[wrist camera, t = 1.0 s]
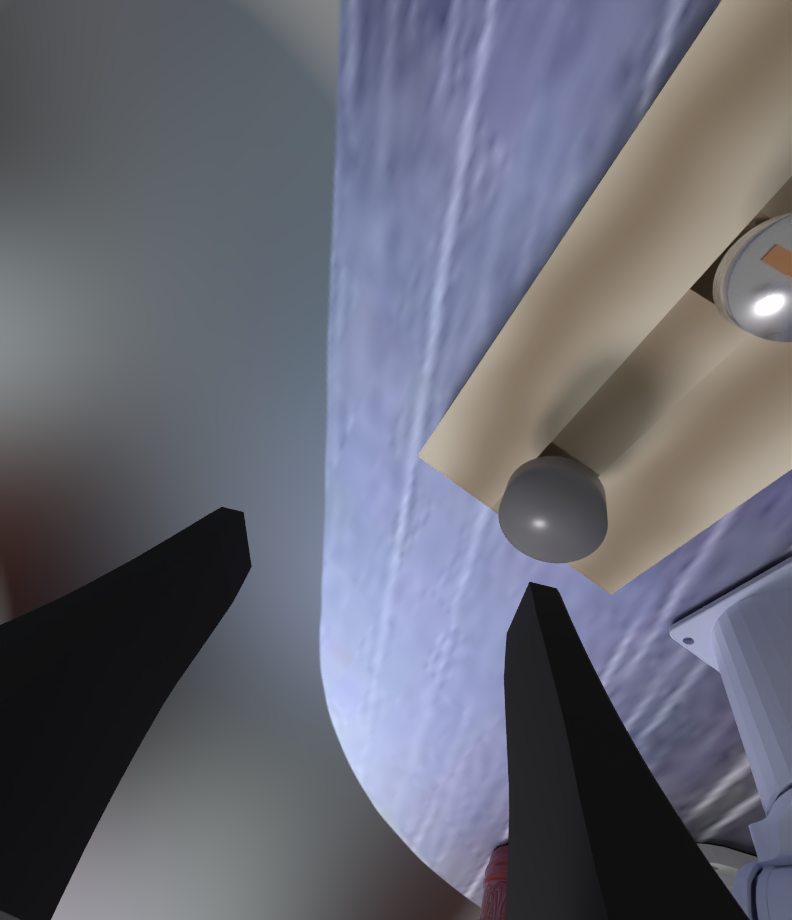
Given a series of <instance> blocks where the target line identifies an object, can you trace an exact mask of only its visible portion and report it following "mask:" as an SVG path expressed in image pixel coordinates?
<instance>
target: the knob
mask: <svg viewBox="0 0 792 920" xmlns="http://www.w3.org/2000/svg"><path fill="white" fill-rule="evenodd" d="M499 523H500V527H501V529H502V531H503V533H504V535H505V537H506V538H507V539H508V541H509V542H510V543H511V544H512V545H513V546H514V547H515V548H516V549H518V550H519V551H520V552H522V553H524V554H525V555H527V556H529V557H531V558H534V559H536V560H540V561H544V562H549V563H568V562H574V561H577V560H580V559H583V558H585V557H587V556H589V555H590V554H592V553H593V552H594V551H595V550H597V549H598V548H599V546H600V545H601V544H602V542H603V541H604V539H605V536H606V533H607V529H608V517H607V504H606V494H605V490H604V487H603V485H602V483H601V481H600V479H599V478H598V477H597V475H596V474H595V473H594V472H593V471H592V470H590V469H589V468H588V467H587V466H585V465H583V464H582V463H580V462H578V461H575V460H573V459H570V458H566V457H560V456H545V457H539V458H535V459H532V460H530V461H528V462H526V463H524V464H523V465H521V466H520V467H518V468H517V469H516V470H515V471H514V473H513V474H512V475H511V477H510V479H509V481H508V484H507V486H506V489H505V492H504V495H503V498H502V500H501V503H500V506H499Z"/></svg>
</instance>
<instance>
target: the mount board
mask: <svg viewBox="0 0 792 920" xmlns="http://www.w3.org/2000/svg"><path fill="white" fill-rule="evenodd" d="M791 212H792V0H722V1H721V2H720V4H719V5H718V7H717V8H716V10H715V11H714V13H713V14H712V16H711V17H710V19H709V20H708V22H707V23H706V25H705V26H704V28H703V29H702V31H701V32H700V34H699V35H698V37H697V38H696V40H695V41H694V43H693V44H692V46H691V47H690V49H689V50H688V52H687V53H686V55H685V56H684V58H683V59H682V61H681V62H680V64H679V65H678V67H677V68H676V70H675V71H674V73H673V74H672V76H671V77H670V79H669V80H668V82H667V83H666V85H665V86H664V88H663V89H662V91H661V92H660V94H659V95H658V97H657V98H656V100H655V101H654V103H653V104H652V106H651V107H650V109H649V110H648V112H647V113H646V115H645V116H644V118H643V119H642V121H641V122H640V124H639V125H638V127H637V128H636V130H635V131H634V133H633V134H632V135H631V137H630V138H629V140H628V141H627V143H626V144H625V146H624V147H623V149H622V150H621V152H620V153H619V155H618V156H617V158H616V159H615V161H614V162H613V164H612V165H611V167H610V168H609V170H608V171H607V173H606V174H605V176H604V177H603V179H602V180H601V182H600V183H599V185H598V186H597V188H596V189H595V191H594V192H593V194H592V195H591V197H590V198H589V200H588V201H587V203H586V204H585V206H584V207H583V209H582V210H581V212H580V213H579V215H578V216H577V218H576V219H575V221H574V222H573V224H572V225H571V227H570V228H569V230H568V231H567V233H566V234H565V236H564V237H563V239H562V240H561V242H560V243H559V245H558V246H557V248H556V249H555V251H554V252H553V254H552V255H551V257H550V258H549V260H548V261H547V263H546V264H545V266H544V267H543V269H542V270H541V272H540V273H539V275H538V276H537V278H536V279H535V281H534V282H533V284H532V285H531V287H530V288H529V290H528V291H527V293H526V294H525V296H524V297H523V299H522V300H521V302H520V303H519V305H518V306H517V308H516V309H515V311H514V312H513V314H512V315H511V317H510V318H509V320H508V321H507V323H506V324H505V326H504V327H503V329H502V330H501V332H500V333H499V335H498V336H497V338H496V339H495V341H494V342H493V344H492V345H491V347H490V348H489V350H488V351H487V353H486V354H485V356H484V357H483V359H482V360H481V362H480V363H479V365H478V366H477V368H476V369H475V371H474V372H473V374H472V375H471V377H470V378H469V380H468V381H467V383H466V384H465V386H464V387H463V389H462V390H461V392H460V393H459V395H458V396H457V398H456V399H455V401H454V402H453V404H452V405H451V407H450V408H449V410H448V411H447V413H446V414H445V416H444V417H443V419H442V420H441V422H440V423H439V425H438V426H437V428H436V429H435V431H434V432H433V434H432V435H431V437H430V438H429V440H428V441H427V443H426V444H425V446H424V447H423V449H422V450H421V452H420V453H419V455H418V457H419V458H421V459H422V460H424V461H425V462H426V463H428V464H429V465H431V466H432V467H433V468H435V469H436V470H438V471H439V472H440V473H442V474H443V475H445V476H446V477H447V478H449V479H450V480H451V481H453V482H454V483H456V484H457V485H458V486H460V487H461V488H463V489H464V490H465V491H467V492H468V493H470V494H471V495H472V496H474V497H475V498H477V499H478V500H479V501H481V502H482V503H484V504H485V505H486V506H488V507H489V508H491V509H492V510H493V511H495V512H496V513H497V514H499V506H500V503H501V500H502V498H503V495H504V492H505V489H506V486H507V484H508V481H509V479H510V477H511V475H512V474H513V473H514V471H515V470H516V469H517V468H518V467H520V466H521V465H523V464H524V463H526V462H528V461H530V460H532V459H535V458H539V457H545V456H560V457H566V458H570V459H573V460H575V461H578V462H580V463H582V464H583V465H585V466H587V467H588V468H589V469H590V470H592V471H593V472H594V473H595V474H596V475H597V477H598V478H599V479H600V481H601V483H602V485H603V487H604V490H605V494H606V504H607V517H608V529H607V533H606V536H605V539H604V541H603V542H602V544H601V545H600V546H599V548H598V549H597V550H595V551H594V552H593V553H592V554H590V555H589V556H587V557H585V558H583V559H580V560H577V561H574V562H568V563H567V564H569V565H570V566H571V567H573V568H574V569H576V570H577V571H578V572H580V573H581V574H583V575H584V576H585V577H587V578H588V579H590V580H591V581H592V582H594V583H595V584H597V585H598V586H599V587H601V588H602V589H603V590H605V591H606V592H608V593H609V594H610V595H611V594H613V593H614V592H616V591H617V590H619V589H620V588H621V587H623V586H624V585H626V584H627V583H629V582H630V581H631V580H633V579H634V578H636V577H637V576H639V575H640V574H642V573H643V572H644V571H646V570H647V569H649V568H650V567H652V566H653V565H654V564H656V563H657V562H659V561H660V560H662V559H663V558H665V557H666V556H667V555H669V554H670V553H672V552H673V551H675V550H676V549H677V548H679V547H680V546H682V545H683V544H685V543H686V542H688V541H689V540H690V539H692V538H693V537H695V536H696V535H698V534H699V533H700V532H702V531H703V530H705V529H706V528H708V527H709V526H711V525H712V524H713V523H715V522H716V521H718V520H719V519H721V518H722V517H723V516H725V515H726V514H728V513H729V512H731V511H732V510H734V509H735V508H736V507H738V506H739V505H741V504H742V503H744V502H745V501H746V500H748V499H749V498H751V497H752V496H754V495H755V494H757V493H758V492H759V491H761V490H762V489H764V488H765V487H767V486H768V485H769V484H771V483H772V482H774V481H775V480H777V479H778V478H780V477H781V476H782V475H784V474H785V473H787V472H788V471H790V470H791V469H792V342H775V341H770V340H766V339H763V338H760V337H757V336H755V335H753V334H751V333H748V332H746V331H744V330H742V329H740V328H737V327H736V326H734V325H732V324H730V323H729V322H728V321H726V320H725V319H724V318H723V317H722V316H721V315H720V313H719V312H718V310H717V308H716V306H715V303H714V299H713V281H714V277H715V274H716V271H717V268H718V266H719V264H720V262H721V260H722V259H723V257H724V256H725V254H726V253H727V252H728V250H729V249H730V248H731V247H732V246H733V245H734V244H735V243H736V242H737V241H738V240H739V239H740V238H741V237H742V236H743V235H745V234H746V233H747V232H748V231H750V230H751V229H753V228H754V227H756V226H758V225H759V224H761V223H763V222H765V221H767V220H769V219H772V218H774V217H777V216H780V215H783V214H786V213H791Z"/></svg>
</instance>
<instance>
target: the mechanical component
mask: <svg viewBox="0 0 792 920" xmlns="http://www.w3.org/2000/svg"><path fill="white" fill-rule="evenodd" d="M697 845H698V846H699V848H700V849H701V851H702V852H703V854H704V855H705V857H706V858H707V860H708V861H709V863H710V864H711V866H712V867H713V869H714V870H715V871H716V873H717V874H718V876H719V877H720V878H721V880H722V881H723V883H724V884H725V885H726V887H727V888H728V890H729V891H730V892H731V894H732V892H733V883H734V879H735V876H736V873H737V871H738V870H739V869H740V868H741V867H742V866H743V865H744V864H747V863H750V862H759V860H758V858H757V857H755V856H752V855H748V854H745V853H742V852H739V851H736V850H732V849H729V848H726V847H721V846H715V845H710V844H698V843H697Z"/></svg>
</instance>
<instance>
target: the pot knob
mask: <svg viewBox="0 0 792 920" xmlns="http://www.w3.org/2000/svg"><path fill="white" fill-rule="evenodd" d="M713 299H714V303H715V306H716V308H717V310H718V312H719V313H720V315H721V316H722V317H723V318H724V319H725V320H726V321H728V322H729V323H730V324H732V325H734V326H736V327H737V328H740V329H742V330H744V331H746V332H748V333H751V334H753V335H755V336H757V337H760V338H763V339H766V340H770V341H775V342H792V212H791V213H786V214H783V215H780V216H777V217H774V218H772V219H769V220H767V221H765V222H763V223H761V224H759V225H758V226H756V227H754V228H753V229H751V230H750V231H748V232H747V233H746V234H745V235H743V236H742V237H741V238H740V239H739V240H738V241H737V242H736V243H735V244H734V245H733V246H732V247H731V248H730V249H729V250H728V252H727V253H726V254H725V256H724V257H723V259H722V260H721V262H720V264H719V266H718V268H717V271H716V274H715V277H714V281H713Z"/></svg>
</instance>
